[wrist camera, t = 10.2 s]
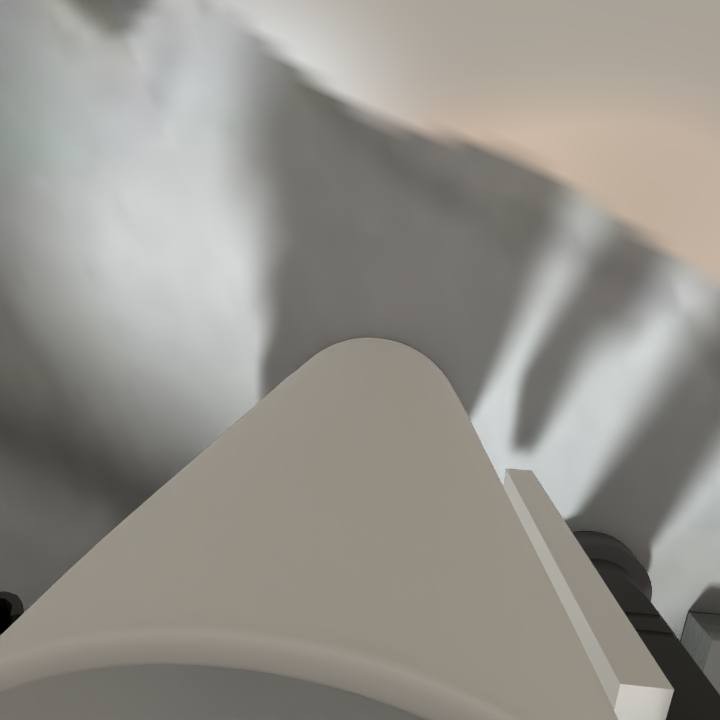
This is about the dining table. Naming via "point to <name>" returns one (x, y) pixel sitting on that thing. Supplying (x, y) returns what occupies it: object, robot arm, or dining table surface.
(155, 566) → the mug
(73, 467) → the dining table surface
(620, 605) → the robot arm
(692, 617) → the breaker panel
